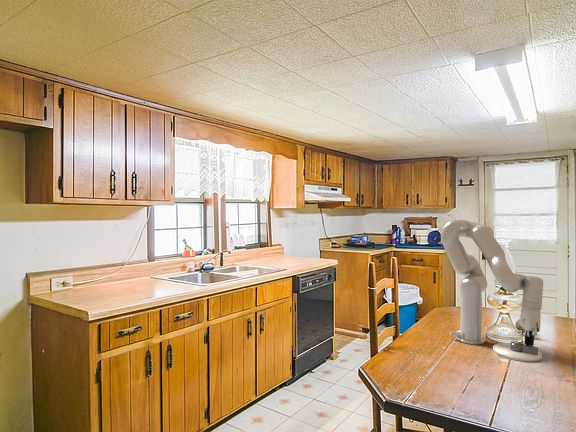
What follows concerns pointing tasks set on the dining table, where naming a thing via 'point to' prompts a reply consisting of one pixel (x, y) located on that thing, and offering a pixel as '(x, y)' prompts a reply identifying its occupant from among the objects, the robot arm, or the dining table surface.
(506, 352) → the plate
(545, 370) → the dining table surface
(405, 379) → the dining table surface
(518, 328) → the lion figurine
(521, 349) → the dark gray block
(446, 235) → the robot arm
